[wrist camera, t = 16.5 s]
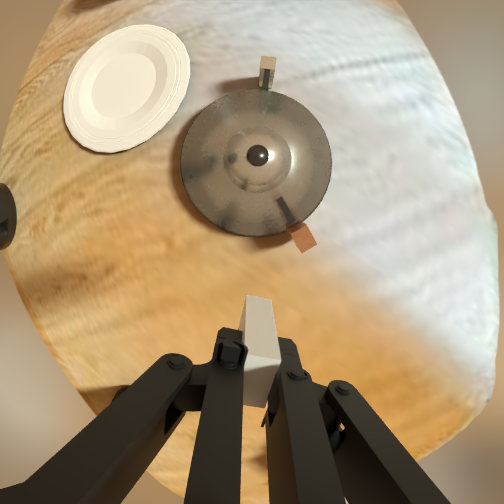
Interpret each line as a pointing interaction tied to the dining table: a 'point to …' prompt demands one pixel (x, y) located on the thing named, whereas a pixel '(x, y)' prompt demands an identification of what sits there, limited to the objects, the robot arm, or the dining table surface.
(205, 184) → the turntable
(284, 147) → the cover
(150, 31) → the plate
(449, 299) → the dining table surface
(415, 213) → the dining table surface
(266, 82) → the turntable base
